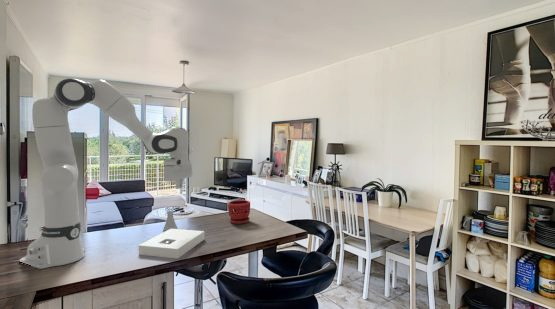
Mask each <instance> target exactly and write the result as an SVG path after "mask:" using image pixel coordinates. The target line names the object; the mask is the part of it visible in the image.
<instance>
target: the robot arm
mask: <svg viewBox="0 0 555 309" xmlns="http://www.w3.org/2000/svg"><path fill="white" fill-rule="evenodd" d="M86 104H89V105H90V104H91V105H94V106H95V107H98V109H99V110H100V111H102V112H103V113H104V114H105V115H106V116H108V117H109V118H111V119H112V120H113V121H115V122H117V123H118V124H120V125H122V126H124V127H125V128H126V129H128V130H129V131H130V132H131V133H133V135H135V136H136V137H137V138H138V139H139V140H140V141H141V142H142V144H143V146H144V148H145V150H146V151H147V152H148V153H150V154H154V155H157V154H159V155H164V154H167V153H169V156H168V157H166V158H165V160H163V165H164V167H163V179H164V181H165V182H174V184H175V188H176V190H177V189H178V190H180V189H182V188H183V183H184V180H185V179H188V178H192V176H193V167H192V162H191V161H190V160H189V135H188V130H186V129H185V128H183V127H180V126H179V127H177V126H172V127H170V128H169V129H167V130H165V131H162V132H159V133H157V132H156V133H155V132H153V131H152V130H150V129H149V127H147V126H146V125H145V124H144V123H143V122H142V121H141V120H140V119H139V118H138V116H137V114H136V108H135V106H134V104H133V102H132V101H130V99H129V98H128V97H127V96H126V95H124V93H122V92H121V91H120V90H118V89H117V87H115V86H113V85H112V84H110V83H109V82H107V81H106V80H103V79H96V80H94V81H92V82H91V83H90V82H86V81H83V80H80V79H77V78H65V79H64V78H63V79H62V80H60V81H59V82H58V83H57V84H56V86H55V89H54V92H53V95H52V96H51V97H44V98H40V99H37V100H35V101H34V102H33V104H32V108H31V109H32V110H31V112H32V113H31V114H32V116H31V117H32V127H33V133H34V137H35V142H36V147H37V151H38V152H39V155H40V160H41V163H42V166H43V171H42V172H41V173H42V174H40V175H41V176H40V182H41V192H42V199H43V205H44V206H43V207H44V226H42V227H39V231H42V232H41V233H40V234H41V235H40V236H39V237H38V238H36V239H35V240H33V241H32V242H31V243H30V244H29V245H28V246H27V249H26V250H27V251H26V255H25V256H23V257H21V258H19V259H18V262H19V261H20V262H23V263H26V264H29V265H31V266H30V267H32V268H37V269H39V270H41V269H47V268H50V267H57V266H63V265H69V264H72V263H74V262H78V261H79V260H81V259H83V258H84V257H85V255H86V254H85V248H84V245H83V238H82V234H81V231H82V230H81V229H82V226H81V221H80V205H79V204H80V202H79V191H78V190H79V189H78V179H79V175H80V174H79V173H80V172H79V168H78V164H77V158H76V154H75V149H74V144H73V140H72V135H71V134H72V133H71V128H70V123H69V118H68V115H69V112H70V111H73V110H77V109H80V108H82V107H83V106H85V105H86ZM23 263H22V264H23ZM26 264H25V265H26ZM29 265H28V266H29Z"/></svg>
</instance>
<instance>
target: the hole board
mask: <svg viewBox="0 0 555 309" xmlns="http://www.w3.org/2000/svg"><path fill="white" fill-rule="evenodd" d="M204 240H205V231H204V230H196V229H195V230H193V229H181V228H178V229H169V230H167V231H162V232H161V233H160V234H157V235H156V236H154V237H152V238H150V239H148V240H146V241H143V242H142V243H140V244H138V256H139V255H140V256H148V257H157V258H158V257H159V258H165V259H166V258H168V259H179V258H181V257H183V255H185V254H186V253H188V252H189V251H190V250H192V249H193V248H194V247H195V246H197V245H199V244H200V243H201V242H203V241H204ZM165 242H171V244H164V243H165Z"/></svg>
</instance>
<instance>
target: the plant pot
mask: <svg viewBox="0 0 555 309" xmlns="http://www.w3.org/2000/svg"><path fill="white" fill-rule="evenodd" d="M227 211H228V215H229V221H230V223H232V224H238V225H241V224H242V225H243V224H247V223H248V222H249V221H250V217H249V216H250V213H251V201H249V200H243V199H242V200H241V199H239V200H232V201H228V203H227Z"/></svg>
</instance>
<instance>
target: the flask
mask: <svg viewBox="0 0 555 309" xmlns="http://www.w3.org/2000/svg"><path fill="white" fill-rule="evenodd" d="M166 214H167V217H166V221H165V223H164V226H163V230H162V232H165V231H167V230H169V229H179V228H178V225H177V224H176V222H175V218H174V211H173V210H168V211H167V212H166Z"/></svg>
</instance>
